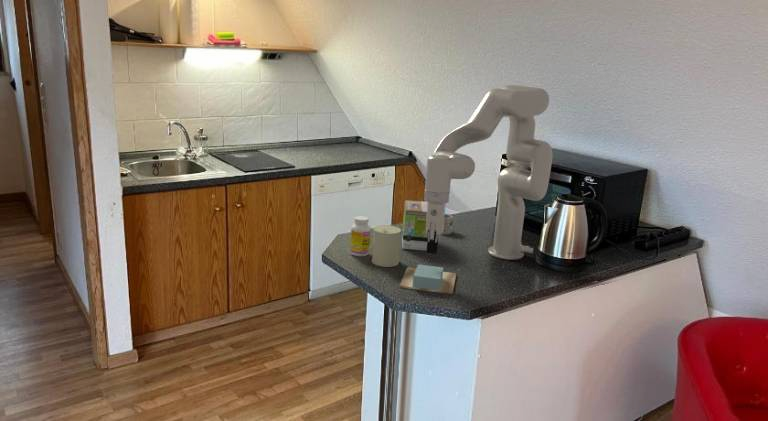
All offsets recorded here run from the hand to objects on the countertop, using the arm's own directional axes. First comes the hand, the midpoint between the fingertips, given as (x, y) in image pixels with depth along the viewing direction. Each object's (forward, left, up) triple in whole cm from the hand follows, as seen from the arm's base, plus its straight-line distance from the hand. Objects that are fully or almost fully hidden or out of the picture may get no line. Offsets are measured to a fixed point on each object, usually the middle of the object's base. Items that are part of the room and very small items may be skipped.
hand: (431, 253), depth 186 cm
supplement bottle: (+26, -15, -9) cm, 31 cm away
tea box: (+9, -33, -9) cm, 35 cm away
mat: (0, +2, -9) cm, 9 cm away
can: (+16, -10, -9) cm, 21 cm away
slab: (0, 0, -6) cm, 6 cm away
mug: (+1, -53, -9) cm, 54 cm away
